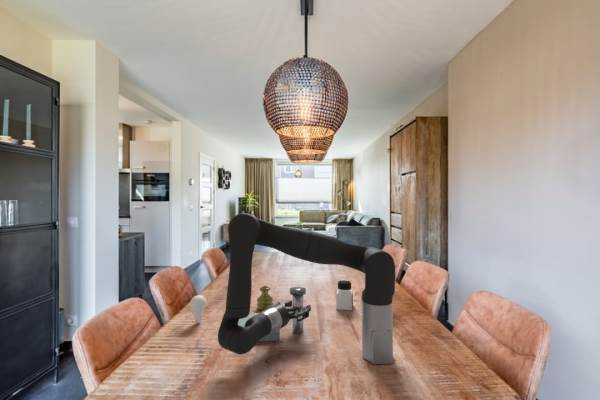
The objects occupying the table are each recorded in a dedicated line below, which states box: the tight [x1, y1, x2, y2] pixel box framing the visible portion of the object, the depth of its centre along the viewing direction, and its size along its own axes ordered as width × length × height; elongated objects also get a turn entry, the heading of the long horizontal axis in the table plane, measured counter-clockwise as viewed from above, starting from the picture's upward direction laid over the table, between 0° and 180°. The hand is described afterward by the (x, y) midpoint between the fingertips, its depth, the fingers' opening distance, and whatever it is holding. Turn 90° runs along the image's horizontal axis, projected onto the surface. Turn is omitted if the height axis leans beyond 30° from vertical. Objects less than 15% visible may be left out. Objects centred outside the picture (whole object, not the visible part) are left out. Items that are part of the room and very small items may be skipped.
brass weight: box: [256, 285, 274, 312], centre depth 135 cm, size 7×7×10 cm
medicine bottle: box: [335, 279, 354, 311], centre depth 135 cm, size 7×7×12 cm
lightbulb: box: [189, 294, 207, 324], centre depth 119 cm, size 6×6×11 cm
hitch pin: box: [289, 286, 307, 334], centre depth 111 cm, size 6×6×16 cm
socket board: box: [238, 312, 281, 342], centre depth 112 cm, size 18×18×3 cm
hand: (300, 305), depth 113 cm, fingers open, 8 cm apart
